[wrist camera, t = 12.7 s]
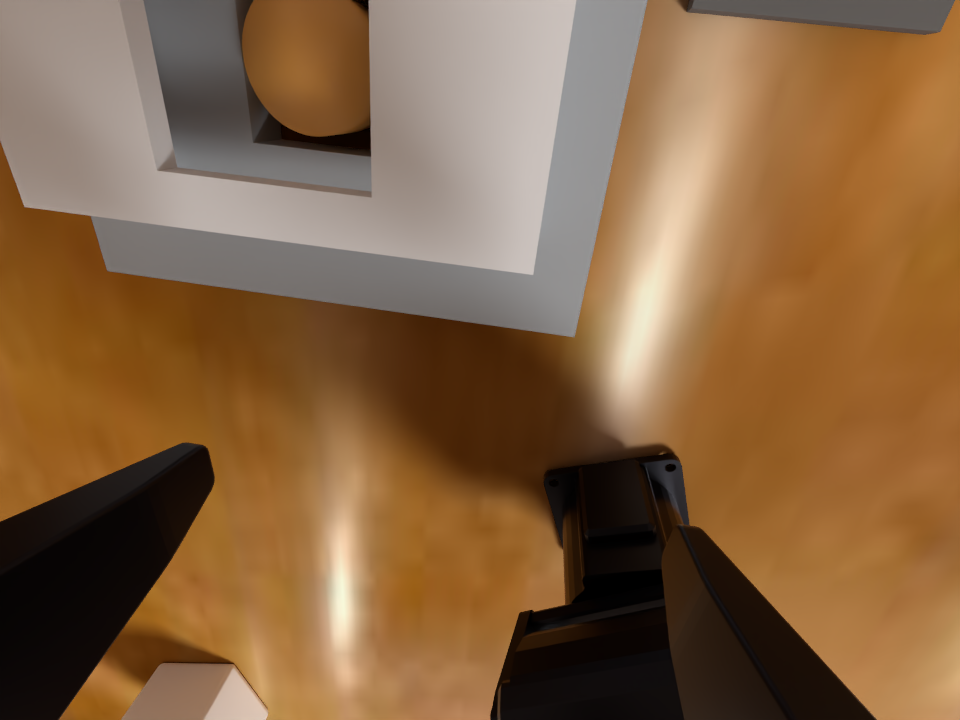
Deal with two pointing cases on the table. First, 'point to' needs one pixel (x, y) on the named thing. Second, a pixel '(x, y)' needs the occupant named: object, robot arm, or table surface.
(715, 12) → the pad
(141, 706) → the medicine bottle
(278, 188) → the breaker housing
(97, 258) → the table surface
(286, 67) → the button
